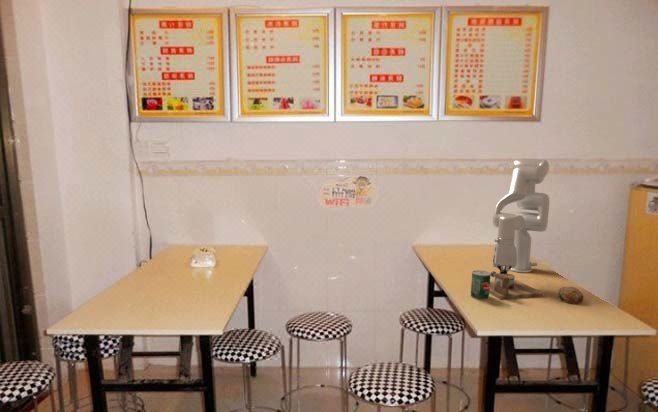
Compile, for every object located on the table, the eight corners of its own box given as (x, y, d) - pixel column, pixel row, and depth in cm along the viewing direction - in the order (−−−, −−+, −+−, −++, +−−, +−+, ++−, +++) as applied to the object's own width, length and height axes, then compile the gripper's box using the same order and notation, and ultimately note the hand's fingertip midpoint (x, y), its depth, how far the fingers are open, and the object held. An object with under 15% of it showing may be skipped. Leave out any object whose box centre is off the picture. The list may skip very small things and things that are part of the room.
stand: (515, 282, 232) (517, 264, 231) (543, 296, 213) (545, 275, 211) (475, 285, 227) (477, 266, 225) (500, 299, 207) (501, 278, 206)
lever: (517, 288, 218) (518, 277, 217) (505, 288, 217) (506, 277, 216) (496, 278, 234) (497, 267, 233) (486, 278, 232) (486, 268, 231)
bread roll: (554, 305, 212) (550, 290, 209) (570, 293, 215) (566, 279, 213) (573, 313, 203) (569, 297, 200) (589, 300, 206) (585, 285, 204)
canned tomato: (488, 300, 206) (490, 276, 204) (469, 298, 208) (471, 274, 207) (489, 295, 213) (490, 271, 211) (471, 292, 216) (472, 269, 214)
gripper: (492, 243, 222) (490, 280, 224) (524, 243, 221) (521, 281, 224) (487, 239, 229) (485, 276, 232) (518, 240, 229) (515, 277, 231)
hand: (503, 278), depth 228 cm, fingers closed
